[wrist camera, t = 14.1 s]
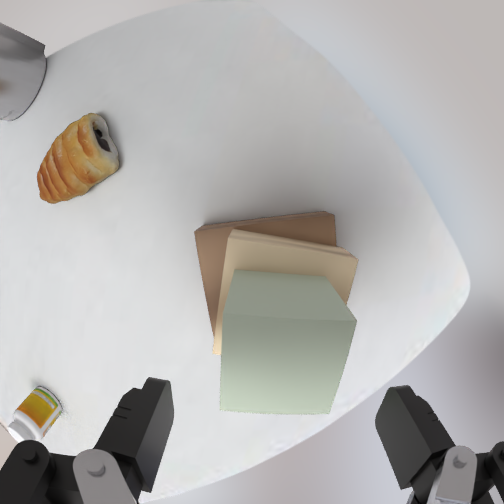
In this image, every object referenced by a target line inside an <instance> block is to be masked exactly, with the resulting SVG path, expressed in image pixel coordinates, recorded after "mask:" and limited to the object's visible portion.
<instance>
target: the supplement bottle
mask: <svg viewBox="0 0 504 504" xmlns="http://www.w3.org/2000/svg"><path fill="white" fill-rule="evenodd" d="M61 412H62V407H61V405H60V403H59V401H58V400H57V399H56V397H55V396H54V395H53V394H52V393H51V392H49V391H48V390H47V389H45V388H43V387H37V388H35V389H34V390H33V392H32V393H31V394H30V395H29V396H28V397H27V398H26V399H25V400H24V401H23V402H22V404H21V405H20V406H19V407H18V408H17V409H16V410H15V412H14V413H13V419H14V421H15V422H12V423H11V424H10V425H9V426H8V431H9V433H10V434H11V435H12V436H13V438H14V439H15V440H16V441H17V442H18V443H20V442H21V441H24V440H36V441H40V440H42V438H43V437H44V436H45V434H46V433H47V432H48V430H49V429H50V428H51V426H52V425H53V424H54V422H55V421H56V419H57V418H58V417H59V415H60V414H61Z"/></svg>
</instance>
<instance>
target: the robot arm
mask: <svg viewBox="0 0 504 504" xmlns="http://www.w3.org/2000/svg"><path fill="white" fill-rule="evenodd" d="M44 49H45V45H44V44H42V43H40V42H38V41H36V40H34V39H32V38H30V37H29V36H27V35H24V34H23V33H21V32H19V31H17V30H14V29H12V28H10V27H8V26H6V25H4V24H2V23H0V120H6V121H11V120H14V119H16V118H18V117H19V116H20V115H22V114H23V113H24V112H25V110H26V109H27V108H28V107H29V105H30V104H31V103H32V101H33V100H34V98H35V96H36V95H37V93H38V90H39V88H40V86H41V84H42V81H43V78H44V74H45V70H46V58H45V55H44ZM173 419H174V407H173V399H172V391H171V384H170V381H168V380H162V379H157V378H151V377H149V378H148V379H147V380H146V382H145V384H144V386H143V388H142V390H141V389H137V388H133V389H131V390H130V391H129V392H127V393H126V394H125V395H123V397H122V399H121V400H120V402H119V404H118V407H117V408H116V409H115V411H114V413H113V416H111V418H110V420H109V422H108V423H107V425H106V427H105V429H104V431H103V432H102V434H101V436H100V438H99V440H98V442H97V443H96V445H95V447H94V448H93V449H89V450H85V451H83V452H81V453H79V454H78V455H77V456H68V455H61V454H55V453H49V451H48V450H47V448H46V447H45V446H44V445H43V444H42V443H40V442H38V441H36V440H24V441H21V442H20V443H18V444H17V445H16V446H15V448H14V449H13V451H12V452H11V454H10V455H9V457H8V459H7V460H6V462H5V464H4V465H3V467H2V468H1V470H0V504H140V503H139V501H138V499H139V496H140V493H141V490H142V491H145V492H149V493H151V491H152V488H153V485H154V481H155V478H156V475H157V472H158V468H159V465H160V462H161V459H162V456H163V452H164V449H165V446H166V443H167V440H168V437H169V434H170V430H171V427H172V424H173ZM375 425H376V429H377V432H378V434H379V437H380V439H381V441H382V444H383V446H384V449H385V451H386V453H387V456H388V458H389V461H390V463H391V466H392V468H393V471H394V473H395V476H396V478H397V481H398V484H399V486H400V489H401V490H402V489H405V488H409V487H413V491H412V493H411V494H410V497H409V499H408V501H407V504H494V502H493V500H492V498H491V496H490V493H489V490H490V489H491V488H492V487H493V486H494V485H495V486H496V488H497V490H498V492H499V494H500V496H501V498H502V500H503V502H504V442H499V443H497V444H496V445H495V446H494V447H493V449H492V450H491V451H490V452H487V453H479V454H474V452H473V451H472V450H471V449H470V448H468V447H465V446H456V445H455V444H454V442H453V441H452V439H451V437H450V436H449V434H448V433H447V431H446V430H445V428H444V426H443V425H442V423H441V422H440V420H439V421H438V417H437V416H436V414H435V413H434V411H433V410H432V408H431V407H430V405H429V404H428V403H427V402H426V401H425V400H424V399H422V398H421V397H420V396H416V395H415V393H414V392H413V390H412V389H411V387H410V386H408V385H404V386H397V387H390V388H389V389H388V390H387V393H386V395H385V397H384V399H383V402H382V404H381V406H380V408H379V410H378V413H377V415H376V419H375Z"/></svg>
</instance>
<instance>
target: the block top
mask: <svg viewBox="0 0 504 504" xmlns="http://www.w3.org/2000/svg"><path fill="white" fill-rule="evenodd" d="M357 263H358V259H357V258H356V257H354V256H353V255H352V254H350V253H349V252H348V251H346V250H345V249H344V248H342V247H337V246H331V245H326V244H320V243H314V242H309V241H303V240H297V239H291V238H285V237H279V236H274V235H268V234H261V233H255V232H249V231H243V230H237V229H233V230H232V231H231V233H230V235H229V237H228V241H227V248H226V255H225V262H224V269H223V276H222V283H221V290H220V298H219V306H218V313H217V321H216V329H215V337H214V345H213V354H217V355H221V346H222V321H223V311H224V307H225V303H226V299H227V296H228V292H229V288H230V284H231V281H232V277H233V273H234V270H235V269H236V270H248V271H260V272H273V273H286V274H299V275H313V276H326V278H327V279H328V280H329V282H330V283H331V285H332V286H333V287H334V289H335V290H336V292H337V293H338V294H339V296H340V297H341V299H342V300H343V301H344V303H345V304H347V301H348V297H349V294H350V290H351V286H352V283H353V279H354V275H355V271H356V267H357Z"/></svg>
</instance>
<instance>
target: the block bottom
mask: <svg viewBox="0 0 504 504" xmlns="http://www.w3.org/2000/svg"><path fill="white" fill-rule="evenodd" d="M233 229H237V230H243V231H249V232H255V233H261V234H268V235H274V236H279V237H285V238H291V239H297V240H303V241H309V242H314V243H320V244H326V245H331V246H336V232H335V219H334V215H333V214H330V213H328V212H325V211H323V212H313V213H304V214H294V215H285V216H277V217H268V218H259V219H251V220H243V221H235V222H227V223H220V224H212V225H205V226H201V227H200V228H198V229H197V230H196V231H194V233H195V240H196V246H197V252H198V258H199V263H200V269H201V275H202V280H203V286H204V291H205V296H206V301H207V306H208V311H209V316H210V321H211V326H212V331H213V336H214V337H215V329H216V321H217V313H218V306H219V298H220V290H221V283H222V276H223V269H224V262H225V255H226V248H227V241H228V237H229V235H230V233H231V231H232V230H233Z"/></svg>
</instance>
